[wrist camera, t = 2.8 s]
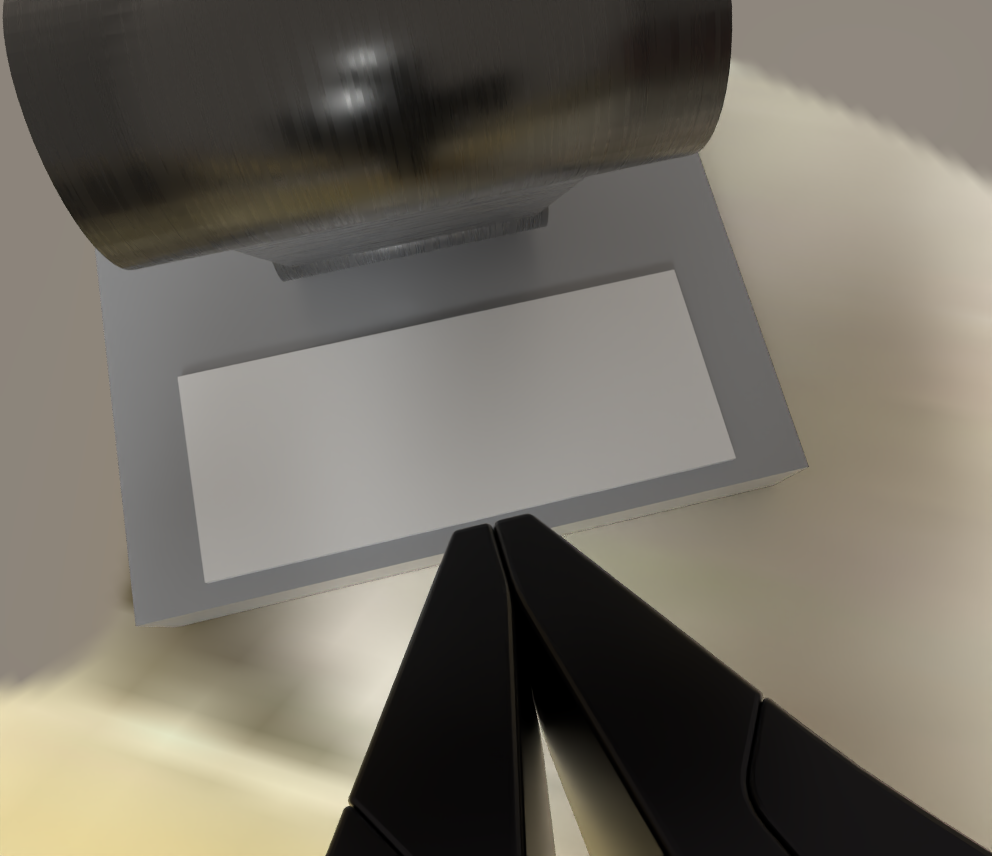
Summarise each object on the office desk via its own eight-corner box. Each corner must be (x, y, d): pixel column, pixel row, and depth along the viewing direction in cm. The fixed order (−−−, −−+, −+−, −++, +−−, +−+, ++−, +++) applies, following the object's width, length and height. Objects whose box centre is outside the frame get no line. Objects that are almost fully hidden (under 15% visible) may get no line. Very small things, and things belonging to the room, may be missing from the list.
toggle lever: (539, 240, 17) (763, 120, 6) (293, 292, 17) (54, 265, 6) (518, 130, 17) (716, -214, 6) (265, 181, 16) (-52, -80, 5)
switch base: (774, 484, 18) (815, 463, 15) (177, 627, 17) (128, 626, 15) (613, 8, 21) (627, -65, 19) (113, 104, 20) (66, 39, 18)
